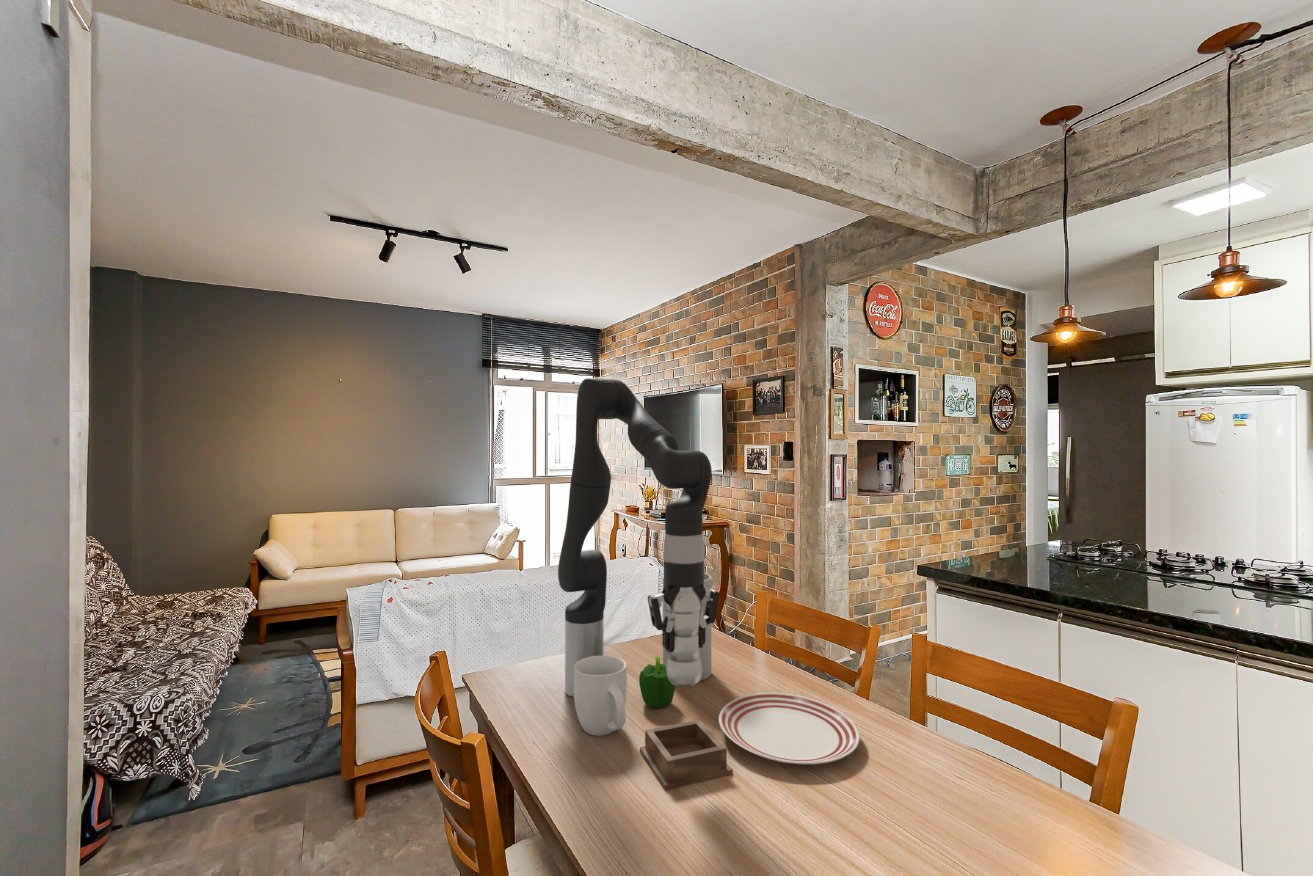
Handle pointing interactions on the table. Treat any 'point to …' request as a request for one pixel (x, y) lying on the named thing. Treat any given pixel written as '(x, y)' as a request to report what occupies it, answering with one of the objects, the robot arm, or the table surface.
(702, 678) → the cylinder vase
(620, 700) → the mug
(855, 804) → the table surface
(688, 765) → the bottle stand
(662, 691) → the bell pepper
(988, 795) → the table surface
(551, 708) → the table surface
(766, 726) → the dinner plate
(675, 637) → the plastic bottle
